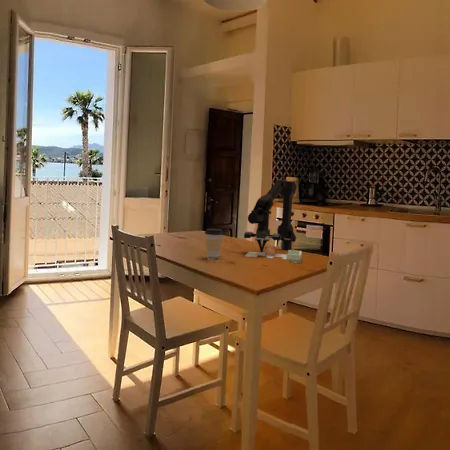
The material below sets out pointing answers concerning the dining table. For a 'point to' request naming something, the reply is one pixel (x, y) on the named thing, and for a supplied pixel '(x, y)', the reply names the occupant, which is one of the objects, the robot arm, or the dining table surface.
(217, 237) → the coffee cup
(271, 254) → the pink short cylinder
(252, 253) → the deck
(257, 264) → the dining table surface
